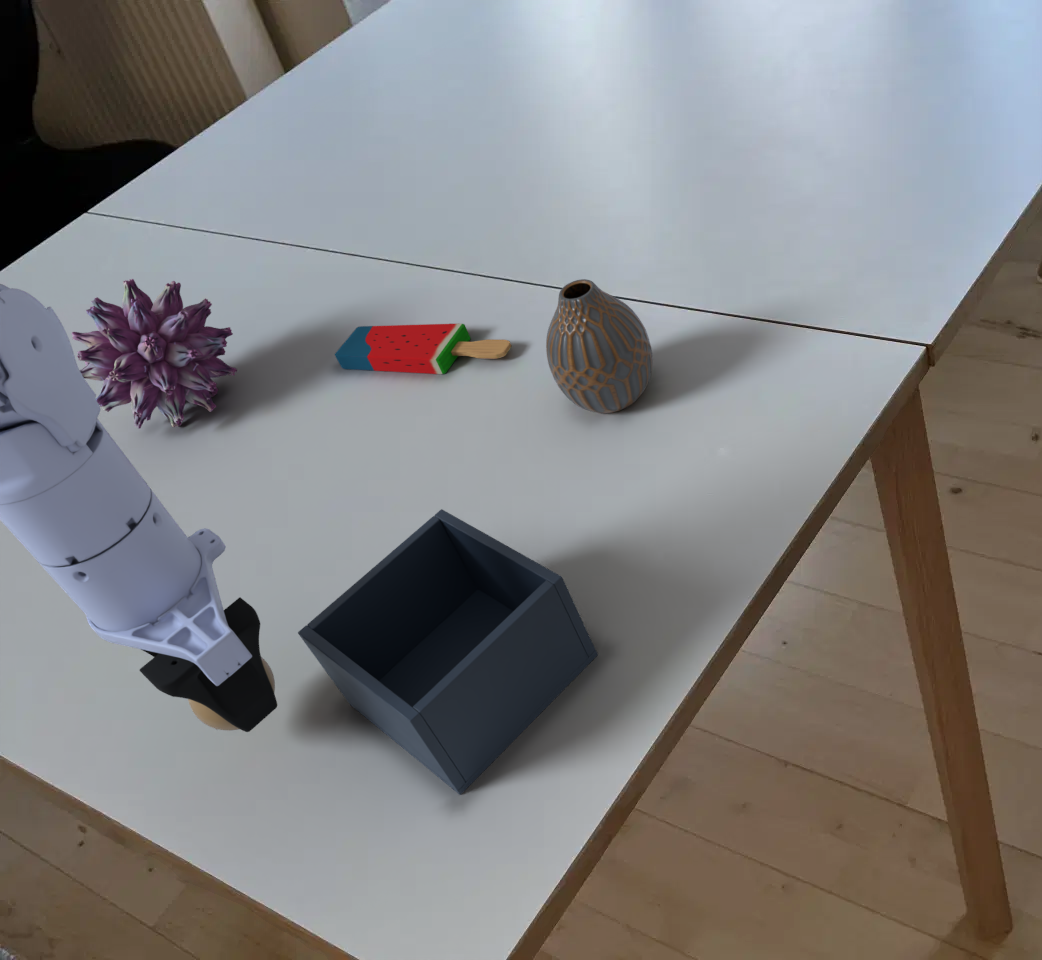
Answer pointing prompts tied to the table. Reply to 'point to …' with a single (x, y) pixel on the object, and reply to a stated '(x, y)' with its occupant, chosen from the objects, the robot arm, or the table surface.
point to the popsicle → (414, 348)
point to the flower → (153, 353)
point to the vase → (597, 349)
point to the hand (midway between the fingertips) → (239, 697)
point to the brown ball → (213, 718)
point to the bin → (452, 646)
